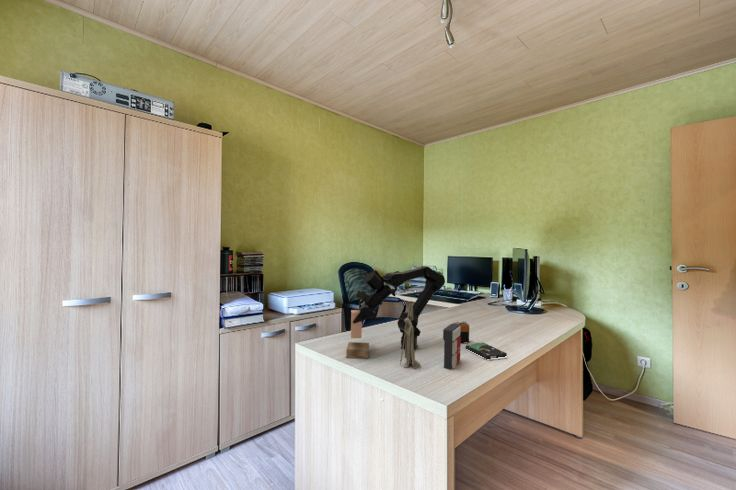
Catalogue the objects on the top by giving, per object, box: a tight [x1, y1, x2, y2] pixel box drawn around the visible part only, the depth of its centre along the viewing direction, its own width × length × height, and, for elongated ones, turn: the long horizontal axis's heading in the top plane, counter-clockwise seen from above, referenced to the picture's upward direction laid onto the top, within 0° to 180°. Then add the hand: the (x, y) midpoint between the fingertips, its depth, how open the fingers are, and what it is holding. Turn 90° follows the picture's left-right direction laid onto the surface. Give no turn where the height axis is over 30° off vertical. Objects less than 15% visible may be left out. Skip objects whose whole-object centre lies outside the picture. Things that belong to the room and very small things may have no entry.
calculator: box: [442, 323, 462, 370], centre depth 122 cm, size 11×4×15 cm, turn 148°
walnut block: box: [345, 341, 370, 360], centre depth 131 cm, size 9×9×4 cm
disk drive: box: [465, 342, 508, 359], centre depth 136 cm, size 10×3×15 cm
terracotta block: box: [350, 309, 363, 339], centre depth 133 cm, size 4×4×11 cm
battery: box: [452, 320, 470, 344], centre depth 151 cm, size 4×7×10 cm, turn 100°
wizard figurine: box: [399, 300, 422, 370], centre depth 121 cm, size 10×8×25 cm
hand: (353, 321), depth 133 cm, fingers closed on terracotta block, 4 cm apart
